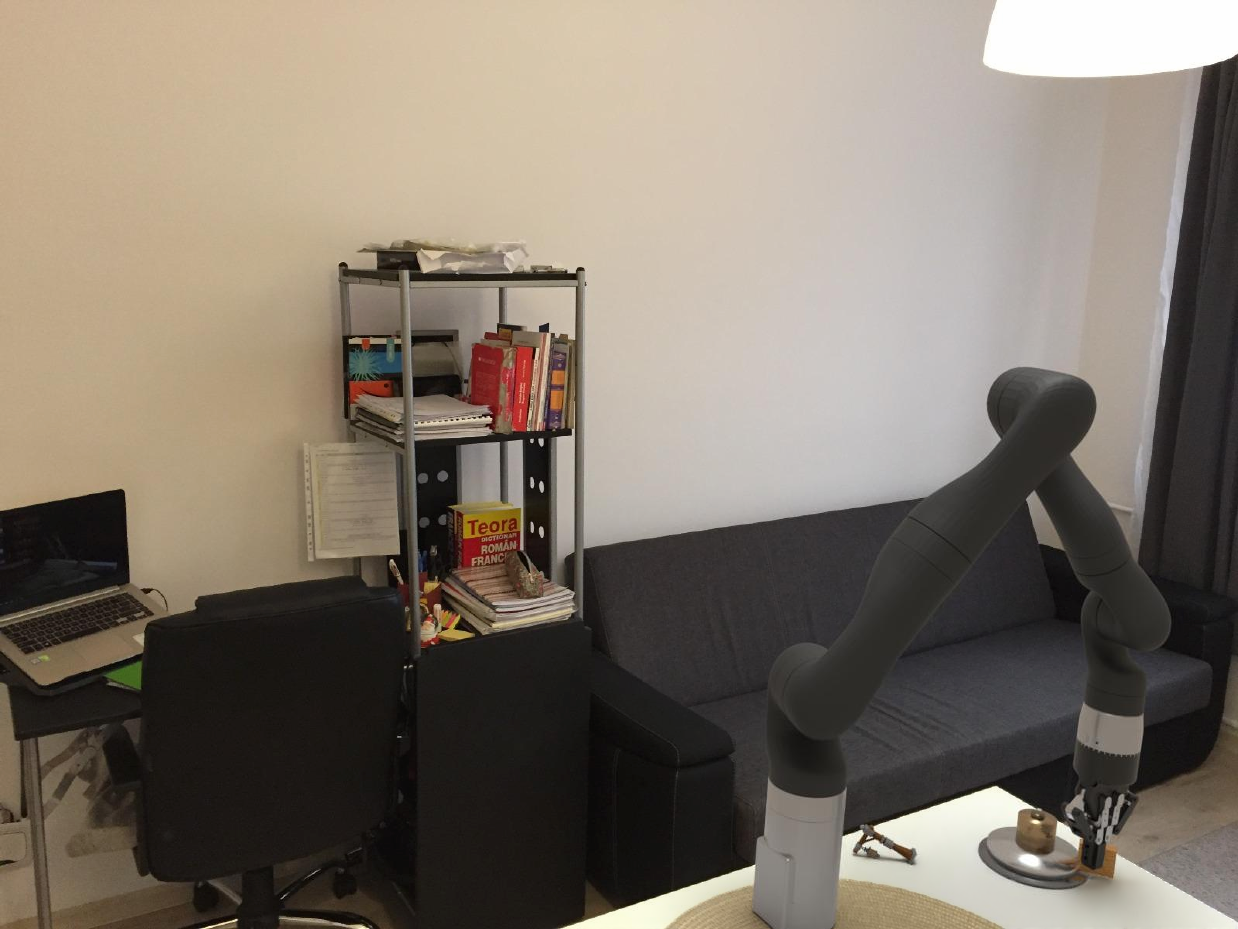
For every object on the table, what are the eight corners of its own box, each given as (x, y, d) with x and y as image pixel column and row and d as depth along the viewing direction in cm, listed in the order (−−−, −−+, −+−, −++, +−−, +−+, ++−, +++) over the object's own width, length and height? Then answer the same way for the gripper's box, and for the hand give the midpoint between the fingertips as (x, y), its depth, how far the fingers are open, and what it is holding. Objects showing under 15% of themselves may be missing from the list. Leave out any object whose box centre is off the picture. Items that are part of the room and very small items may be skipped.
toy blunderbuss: (846, 844, 143) (862, 818, 142) (899, 873, 142) (915, 847, 141) (847, 851, 141) (863, 824, 140) (900, 880, 140) (917, 853, 139)
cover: (1052, 857, 139) (1056, 825, 139) (1013, 848, 142) (1016, 816, 141) (1055, 841, 144) (1059, 810, 143) (1017, 832, 146) (1020, 801, 145)
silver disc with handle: (981, 864, 139) (984, 838, 139) (991, 826, 150) (994, 802, 149) (1112, 898, 132) (1116, 870, 132) (1113, 856, 143) (1117, 830, 143)
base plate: (1039, 899, 133) (1039, 896, 133) (956, 847, 145) (956, 845, 145) (1111, 875, 139) (1111, 872, 139) (1025, 828, 151) (1026, 825, 151)
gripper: (1100, 759, 127) (1082, 891, 130) (1167, 744, 134) (1149, 870, 136) (1049, 736, 134) (1033, 862, 136) (1116, 723, 140) (1099, 843, 143)
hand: (1091, 866), depth 136 cm, fingers closed
